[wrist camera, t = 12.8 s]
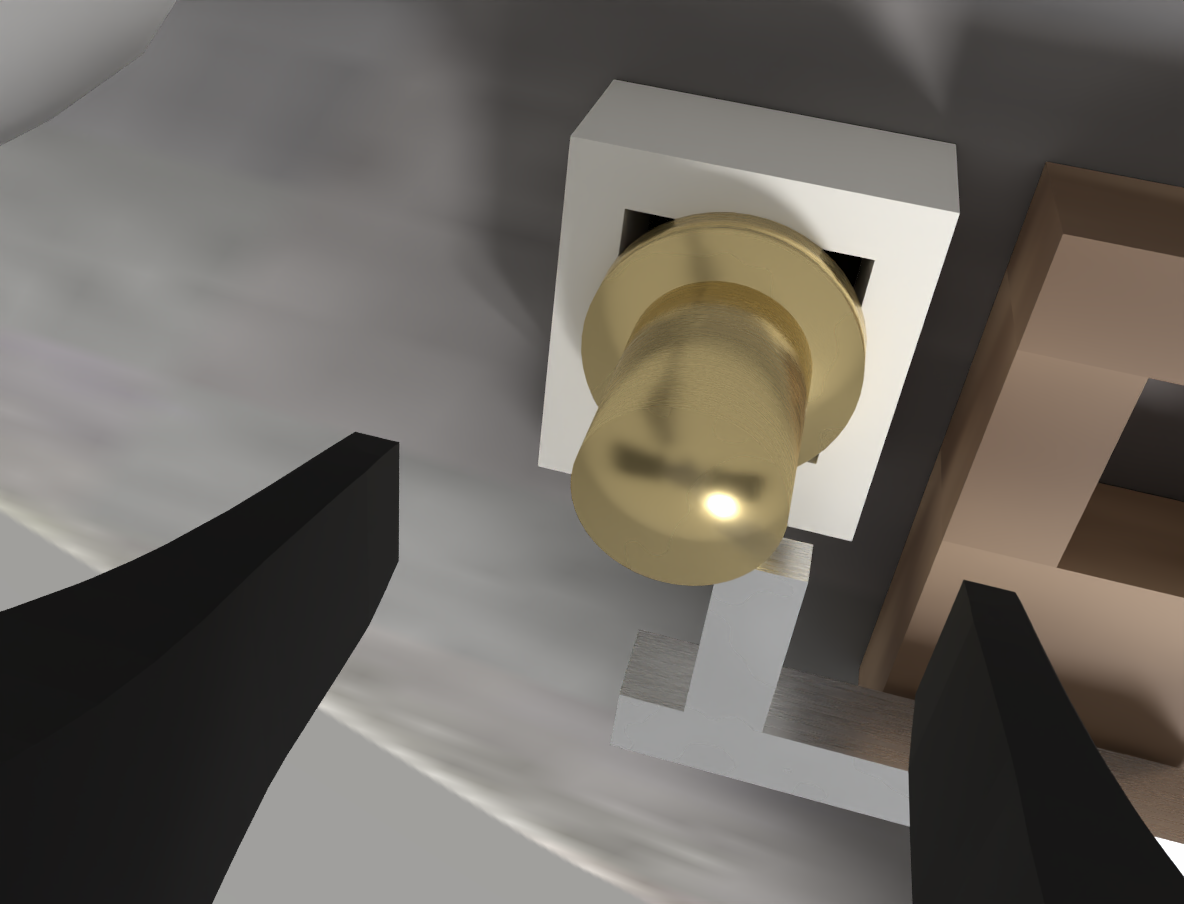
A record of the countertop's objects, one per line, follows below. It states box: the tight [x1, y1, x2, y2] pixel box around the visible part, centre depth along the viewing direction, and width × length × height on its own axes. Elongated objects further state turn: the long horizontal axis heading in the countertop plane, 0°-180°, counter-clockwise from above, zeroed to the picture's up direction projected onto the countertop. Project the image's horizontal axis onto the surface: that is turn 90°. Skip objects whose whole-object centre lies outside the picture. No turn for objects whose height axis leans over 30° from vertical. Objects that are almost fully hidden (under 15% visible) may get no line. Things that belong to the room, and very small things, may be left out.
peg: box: [571, 212, 867, 586], centre depth 18 cm, size 5×5×7 cm
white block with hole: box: [538, 79, 960, 541], centre depth 20 cm, size 6×6×3 cm
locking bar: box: [610, 538, 1184, 876], centre depth 20 cm, size 5×11×2 cm, turn 84°
